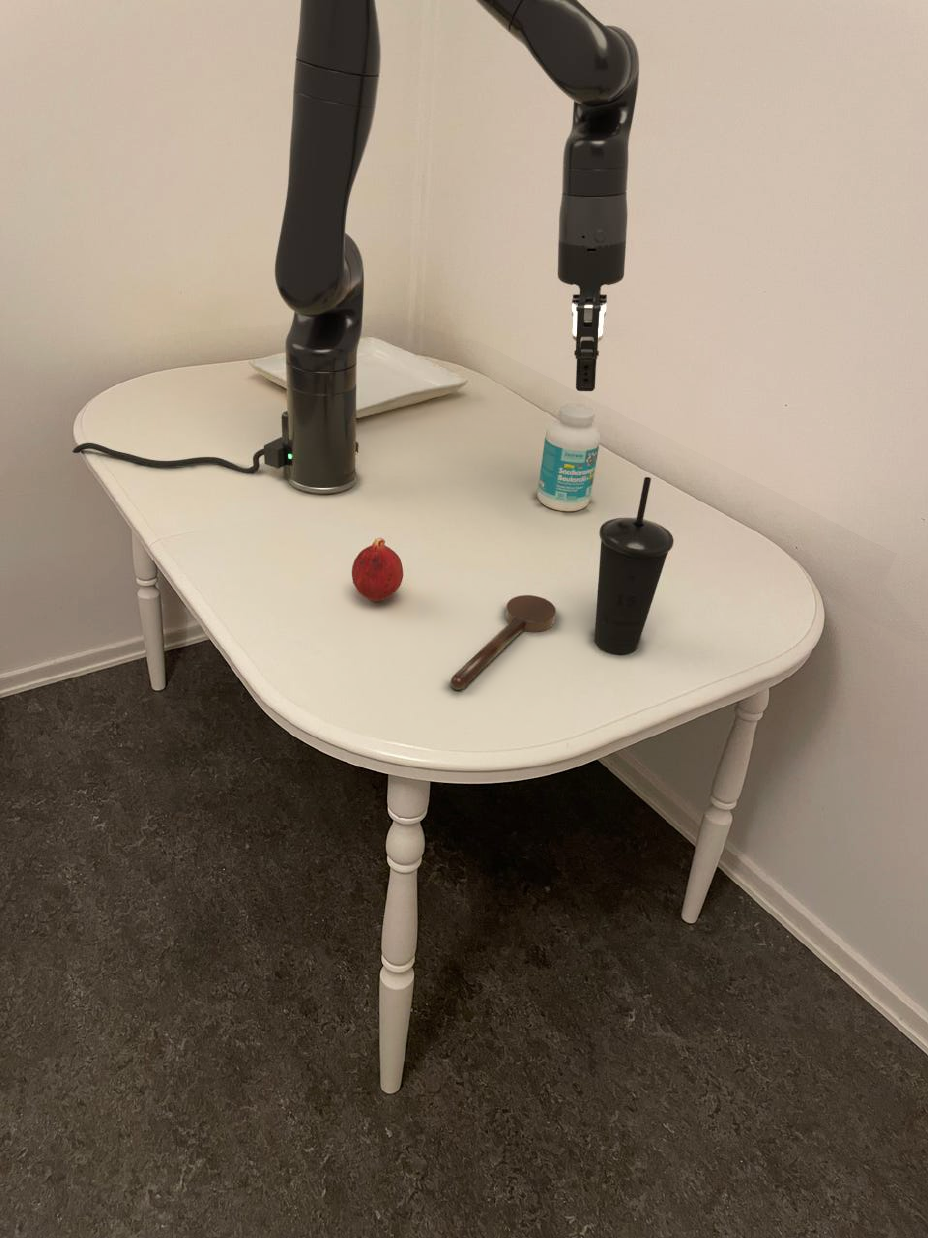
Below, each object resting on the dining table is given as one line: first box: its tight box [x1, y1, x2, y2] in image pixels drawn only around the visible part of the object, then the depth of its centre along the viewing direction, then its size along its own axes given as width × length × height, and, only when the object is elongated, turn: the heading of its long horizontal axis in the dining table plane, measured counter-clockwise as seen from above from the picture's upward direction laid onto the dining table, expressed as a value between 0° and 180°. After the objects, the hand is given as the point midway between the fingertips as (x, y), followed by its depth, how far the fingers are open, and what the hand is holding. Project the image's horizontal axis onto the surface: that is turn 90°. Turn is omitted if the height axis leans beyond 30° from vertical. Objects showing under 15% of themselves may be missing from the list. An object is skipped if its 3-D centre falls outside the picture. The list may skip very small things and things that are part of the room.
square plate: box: [248, 336, 469, 419], centre depth 164 cm, size 27×27×4 cm
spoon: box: [450, 594, 557, 691], centre depth 104 cm, size 6×20×2 cm, turn 149°
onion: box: [351, 537, 404, 602], centre depth 108 cm, size 6×6×8 cm
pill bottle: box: [536, 403, 601, 512], centre depth 131 cm, size 8×7×14 cm
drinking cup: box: [593, 476, 675, 656], centre depth 101 cm, size 8×8×20 cm
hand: (586, 378), depth 116 cm, fingers open, 8 cm apart
